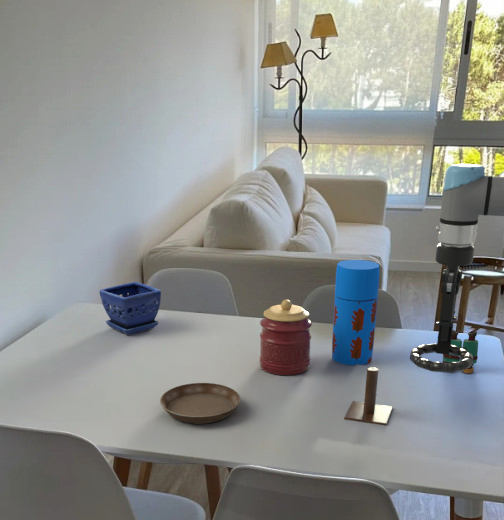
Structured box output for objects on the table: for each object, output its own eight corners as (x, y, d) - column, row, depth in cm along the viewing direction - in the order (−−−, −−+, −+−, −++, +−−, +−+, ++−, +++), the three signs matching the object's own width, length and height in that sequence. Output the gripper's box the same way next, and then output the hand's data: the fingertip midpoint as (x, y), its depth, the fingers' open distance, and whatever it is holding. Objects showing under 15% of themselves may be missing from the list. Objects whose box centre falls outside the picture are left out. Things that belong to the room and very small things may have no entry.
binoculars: (478, 325, 182) (483, 334, 173) (472, 364, 186) (477, 375, 177) (442, 323, 184) (445, 331, 174) (438, 362, 187) (440, 372, 178)
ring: (472, 353, 155) (473, 345, 154) (472, 376, 144) (473, 367, 143) (412, 348, 158) (413, 340, 158) (407, 370, 147) (408, 361, 146)
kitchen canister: (288, 354, 190) (290, 290, 182) (320, 368, 180) (323, 301, 173) (249, 364, 183) (249, 298, 175) (280, 380, 173) (282, 310, 166)
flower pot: (126, 339, 200) (123, 298, 195) (101, 327, 209) (97, 288, 204) (164, 329, 208) (162, 289, 203) (138, 318, 217) (136, 280, 212)
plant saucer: (213, 435, 146) (213, 422, 145) (144, 416, 154) (143, 404, 153) (254, 404, 160) (254, 392, 159) (189, 389, 168) (189, 377, 167)
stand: (392, 412, 157) (397, 364, 152) (385, 429, 149) (390, 379, 144) (352, 406, 160) (356, 359, 155) (343, 423, 152) (347, 373, 147)
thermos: (378, 356, 189) (387, 263, 178) (361, 368, 181) (369, 271, 170) (342, 348, 194) (348, 257, 183) (324, 360, 186) (329, 265, 175)
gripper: (440, 235, 153) (429, 338, 163) (433, 250, 140) (421, 361, 150) (476, 237, 151) (463, 342, 161) (472, 252, 138) (458, 365, 148)
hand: (443, 351), depth 156 cm, fingers closed on ring, 2 cm apart
